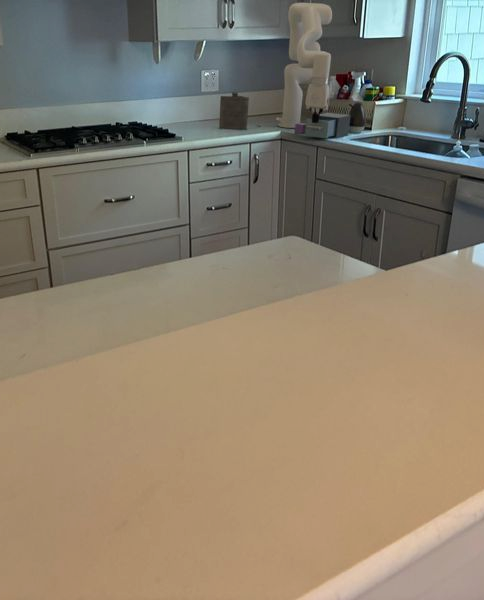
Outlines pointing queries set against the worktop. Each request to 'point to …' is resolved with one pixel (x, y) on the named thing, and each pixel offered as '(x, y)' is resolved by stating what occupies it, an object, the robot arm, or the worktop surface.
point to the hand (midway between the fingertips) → (315, 122)
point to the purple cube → (300, 128)
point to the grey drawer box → (339, 123)
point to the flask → (233, 112)
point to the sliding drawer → (321, 128)
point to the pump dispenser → (357, 117)
